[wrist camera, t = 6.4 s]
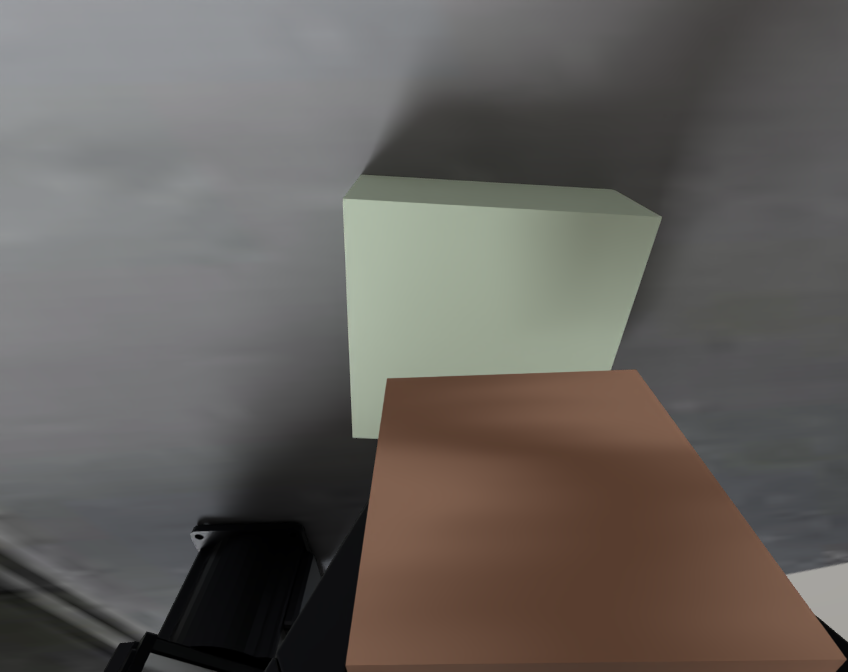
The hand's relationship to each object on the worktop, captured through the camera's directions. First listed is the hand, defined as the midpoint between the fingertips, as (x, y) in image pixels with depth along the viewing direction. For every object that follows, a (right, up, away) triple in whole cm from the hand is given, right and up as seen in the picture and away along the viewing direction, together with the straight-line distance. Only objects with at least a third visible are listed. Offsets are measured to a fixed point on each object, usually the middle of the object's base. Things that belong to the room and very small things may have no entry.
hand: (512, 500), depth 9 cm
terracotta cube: (0, +1, +1) cm, 1 cm away
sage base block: (0, +5, +9) cm, 10 cm away
